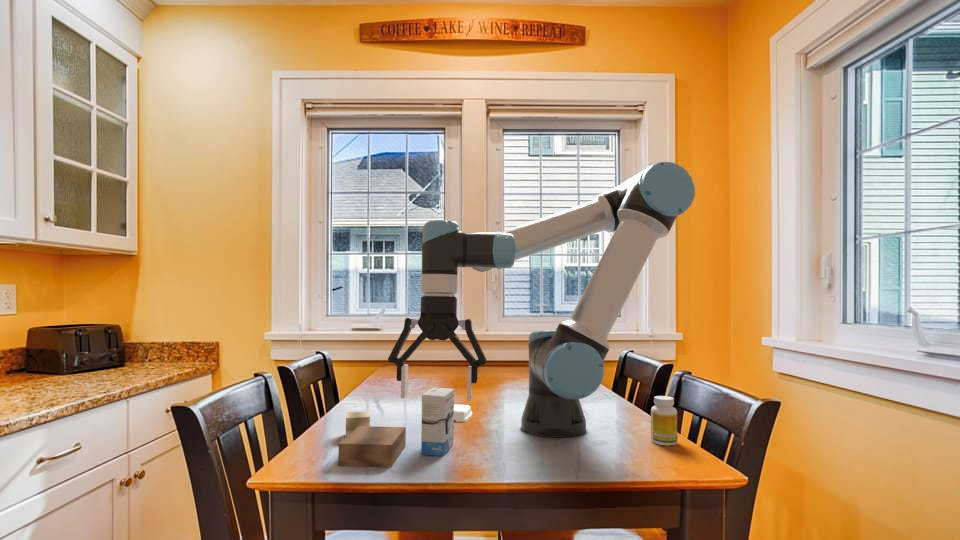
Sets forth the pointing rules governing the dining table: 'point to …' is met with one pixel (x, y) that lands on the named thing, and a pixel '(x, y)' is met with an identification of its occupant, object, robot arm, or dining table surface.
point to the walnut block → (372, 446)
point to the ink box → (437, 421)
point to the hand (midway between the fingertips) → (436, 398)
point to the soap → (462, 413)
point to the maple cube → (356, 420)
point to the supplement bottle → (664, 421)
